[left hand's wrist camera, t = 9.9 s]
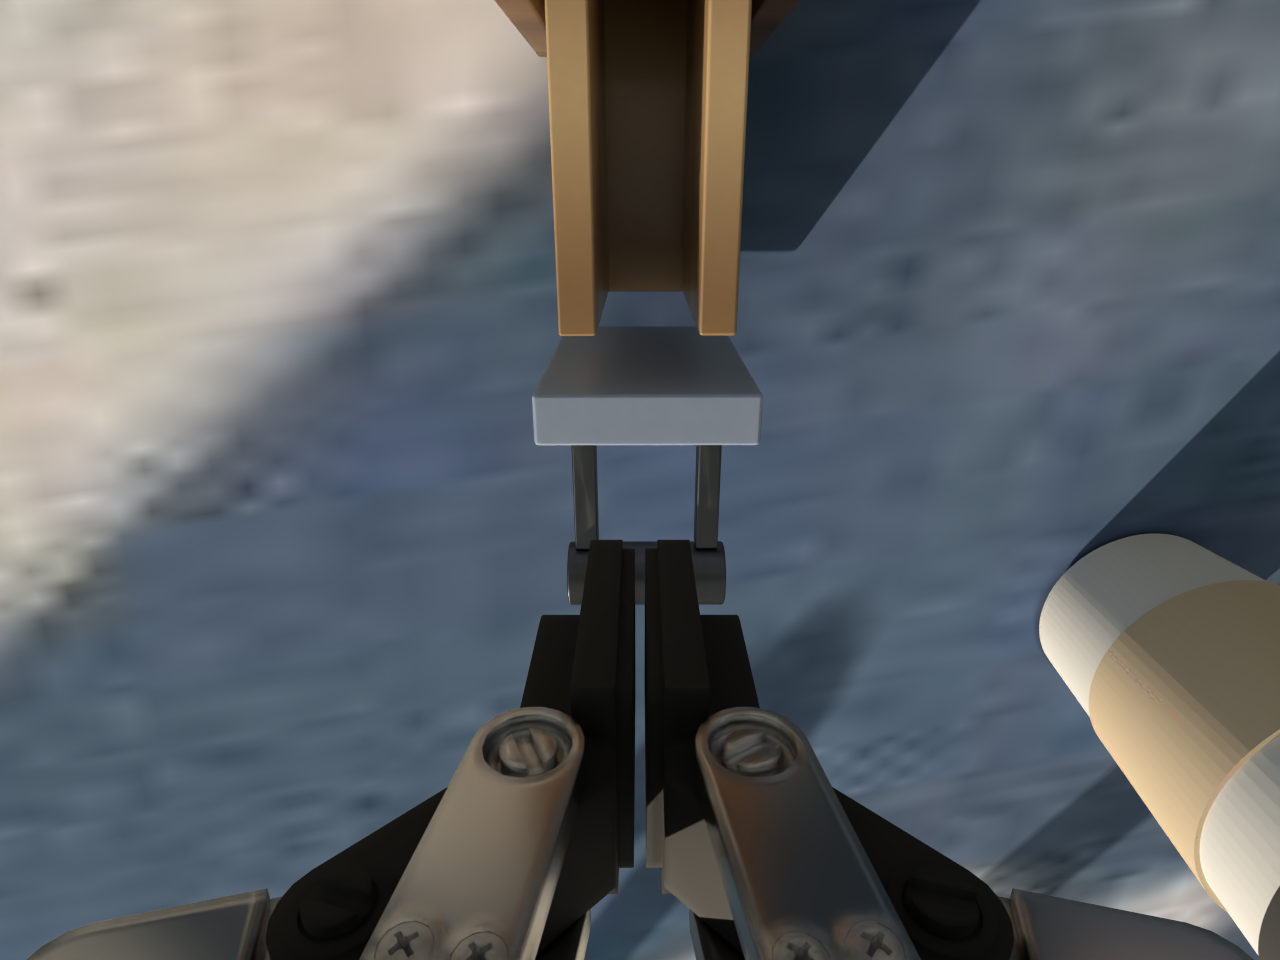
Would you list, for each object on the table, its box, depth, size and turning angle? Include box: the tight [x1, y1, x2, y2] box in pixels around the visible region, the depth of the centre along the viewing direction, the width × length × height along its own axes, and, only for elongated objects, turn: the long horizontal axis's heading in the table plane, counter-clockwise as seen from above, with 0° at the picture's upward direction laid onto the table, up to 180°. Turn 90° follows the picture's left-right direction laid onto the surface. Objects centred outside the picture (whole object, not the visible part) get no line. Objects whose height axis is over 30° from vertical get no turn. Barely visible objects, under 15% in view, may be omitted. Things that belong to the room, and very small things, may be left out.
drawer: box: [532, 0, 763, 605], centre depth 18 cm, size 25×5×8 cm, turn 0°
